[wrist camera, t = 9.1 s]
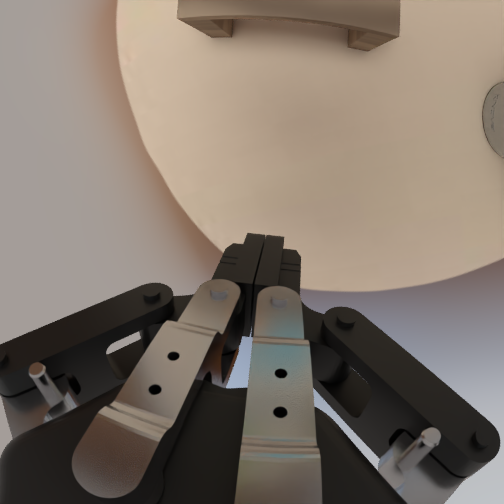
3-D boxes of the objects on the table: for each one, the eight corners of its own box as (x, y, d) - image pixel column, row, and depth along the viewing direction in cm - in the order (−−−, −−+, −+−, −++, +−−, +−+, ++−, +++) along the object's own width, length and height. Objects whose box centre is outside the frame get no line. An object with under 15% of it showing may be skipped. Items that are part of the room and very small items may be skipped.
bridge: (213, 10, 23) (180, -17, 15) (369, 24, 22) (400, -1, 14) (211, 37, 25) (176, 18, 16) (367, 51, 24) (399, 36, 15)
